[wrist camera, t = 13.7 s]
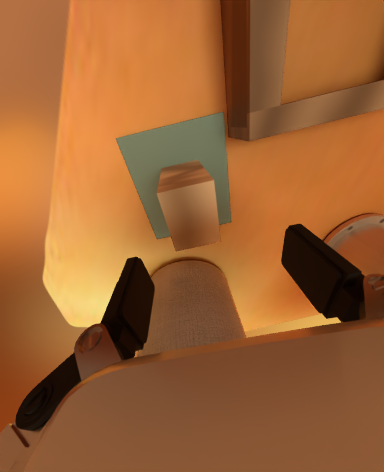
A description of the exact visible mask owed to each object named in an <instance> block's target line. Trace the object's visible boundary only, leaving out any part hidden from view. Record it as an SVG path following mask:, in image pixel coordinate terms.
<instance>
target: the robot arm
mask: <svg viewBox="0 0 384 472" xmlns="http://www.w3.org/2000/svg"><path fill="white" fill-rule="evenodd" d="M281 262H282V265H283V266H284V268H285V269H286V270H287V272H288V273H289V274H290V276H291V277H292V278H293V280H294V281H295V282H296V284H297V285H298V286H299V287H300V289H301V290H302V291H303V293H304V294H305V295H306V297H307V298H308V299H309V301H310V302H311V303H312V305H313V306H314V307H315V308H316V310H317V311H318V312H319V313H322V314H323V315H324V316H325V317H326V319H328V318H334V317H338V319H339V320H340V321H341V323H336V324H329V325H322V326H316V327H310V328H303V329H298V330H291V331H285V332H279V333H273V334H267V335H260V336H255V337H248V338H242V339H236V340H230V341H224V342H218V343H212V344H207V345H201V346H195V347H189V348H183V349H177V350H172V351H166V352H161V353H155V354H150V355H145V356H140V357H135V358H134V356H135V351H138V350H143V348H144V343H146V342H147V338H148V332H149V325H150V319H151V312H152V306H153V299H154V293H155V286H154V283H153V281H152V279H151V277H150V275H149V273H148V271H147V269H146V268H145V266H144V264H143V262H142V260H141V259H140V258H138V257H133V258H128V259H127V261H126V263H125V266H124V268H123V271H122V273H121V276H120V278H119V281H118V282H117V284H116V286H115V289H114V291H113V294H112V296H111V299H110V301H109V304H108V306H107V308H106V311H105V313H104V316H103V318H102V321H101V323H99V324H94V325H92V326H90V327H89V328H87V329H86V330H85V331H84V332H83V333H82V334H81V335H80V336H79V338H78V340H77V341H76V343H75V347H74V353H73V354H72V355H71V356H70V357H68V358H67V359H66V360H65V361H64V362H63V363H62V364H60V365H59V366H58V367H57V368H56V369H55V370H54V371H53V372H51V373H50V374H49V375H48V376H47V377H46V378H45V379H44V380H42V381H41V382H40V383H39V384H38V385H37V386H36V387H35V388H34V389H33V390H32V391H31V392H30V393H29V394H28V395H27V396H26V398H25V399H24V400H23V402H22V404H21V406H20V407H19V410H18V412H17V415H16V421H15V422H14V423H13V424H8V425H7V426H6V427H5V429H4V430H3V431H2V432H1V433H0V472H384V216H383V215H380V214H375V213H373V214H365V215H361V216H358V217H355V218H353V219H351V220H349V221H347V222H345V223H343V224H342V225H340V226H339V227H337V228H336V229H335V230H334V231H332V232H331V233H330V234H329V235H328V236H327V238H326V239H325V240H324V241H322V240H321V239H320V238H318V237H317V236H316V235H314V234H313V233H312V232H311V231H309V230H308V229H307V228H305V227H304V226H303V225H301V224H295V225H290V226H289V227H288V228H287V229H286V231H285V238H284V245H283V252H282V259H281Z"/></svg>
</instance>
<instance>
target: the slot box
mask: <svg viewBox="0 0 384 472" xmlns="http://www.w3.org/2000/svg"><path fill="white" fill-rule="evenodd" d="M289 9H290V0H221V16H222V33H223V50H224V66H225V83H226V100H227V117H228V134H229V137H230V138H235V139H241V140H246V141H253V140H257V139H261V138H265V137H269V136H273V135H277V134H282V133H286V132H290V131H294V130H298V129H302V128H306V127H310V126H314V125H319V124H323V123H327V122H331V121H335V120H339V119H343V118H347V117H352V116H356V115H360V114H364V113H368V112H372V111H376V110H380V109H384V80H380V81H376V82H372V83H368V84H364V85H360V86H356V87H352V88H348V89H344V90H340V91H336V92H331V93H327V94H323V95H319V96H315V97H311V98H307V99H303V100H299V101H295V102H291V103H287V104H283V105H281V95H282V84H283V74H284V63H285V52H286V41H287V30H288V19H289Z"/></svg>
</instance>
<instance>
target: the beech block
mask: <svg viewBox="0 0 384 472" xmlns="http://www.w3.org/2000/svg"><path fill="white" fill-rule="evenodd" d="M157 196H158V199H159V202H160V205H161V208H162V211H163V214H164V217H165V220H166V223H167V226H168V229H169V232H170V235H171V238H172V241H173V244H174V247H175V250H176V251H181V250H185V249H189V248H194V247H198V246H203V245H207V244H212V243H216V242H221V238H220V229H219V220H218V211H217V202H216V193H215V184H214V179H213V178H212V177H211V176H210V174H209V173H208V172H207V171H206V170H205V168H204V167H203V166H202V165H201V163H200V162H199V161H198V160H194V161H190V162H185V163H181V164H177V165H172V166H168V167H164V168H162V169H161V174H160V179H159V184H158V189H157Z"/></svg>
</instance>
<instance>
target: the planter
mask: <svg viewBox="0 0 384 472" xmlns="http://www.w3.org/2000/svg"><path fill="white" fill-rule="evenodd" d="M151 279H152V281H153V283H154V286H155V293H154V299H153V306H152V312H151V319H150V325H149V332H148V338H147V342H146V343H144V348H143V350H138V355H137V357H140V356H145V355H150V354H155V353H161V352H166V351H172V350H177V349H183V348H189V347H195V346H201V345H207V344H212V343H218V342H224V341H230V340H236V339H242V338H246V335H245V332H244V329H243V326H242V323H241V321H240V318H239V315H238V312H237V309H236V306H235V303H234V300H233V297H232V294H231V292H230V289H229V286H228V283H227V280H226V278H225V276H224V274H223V273H222V272H221V270H220V269H218V268H217V267H216V266H214V265H212V264H210V263H207V262H203V261H197V260H184V261H179V262H175V263H171V264H169V265H166V266H164V267H163V268H161V269H159V270H158V271H157V272H155V273H154V274H153V275H152V277H151Z"/></svg>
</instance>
